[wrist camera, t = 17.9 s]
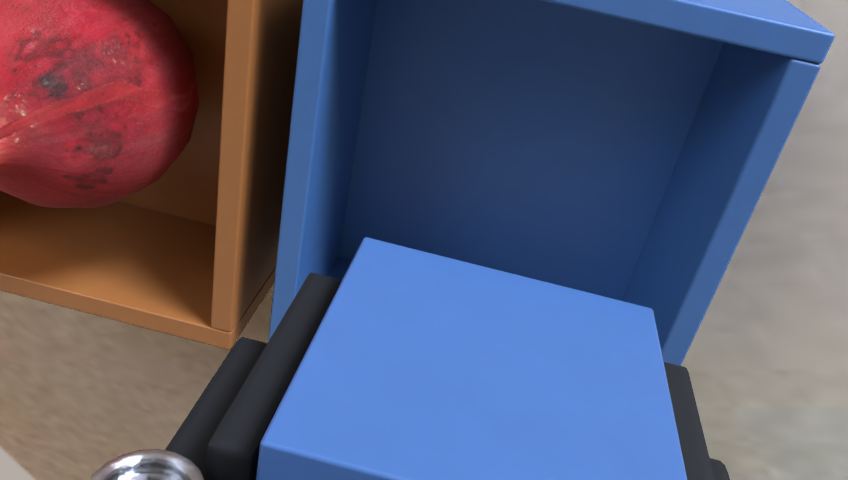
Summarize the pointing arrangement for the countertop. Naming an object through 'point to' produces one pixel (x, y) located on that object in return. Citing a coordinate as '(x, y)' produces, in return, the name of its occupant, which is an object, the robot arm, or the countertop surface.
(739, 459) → the countertop surface
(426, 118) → the blue bin
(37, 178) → the onion
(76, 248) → the brown bin
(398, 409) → the blue block
